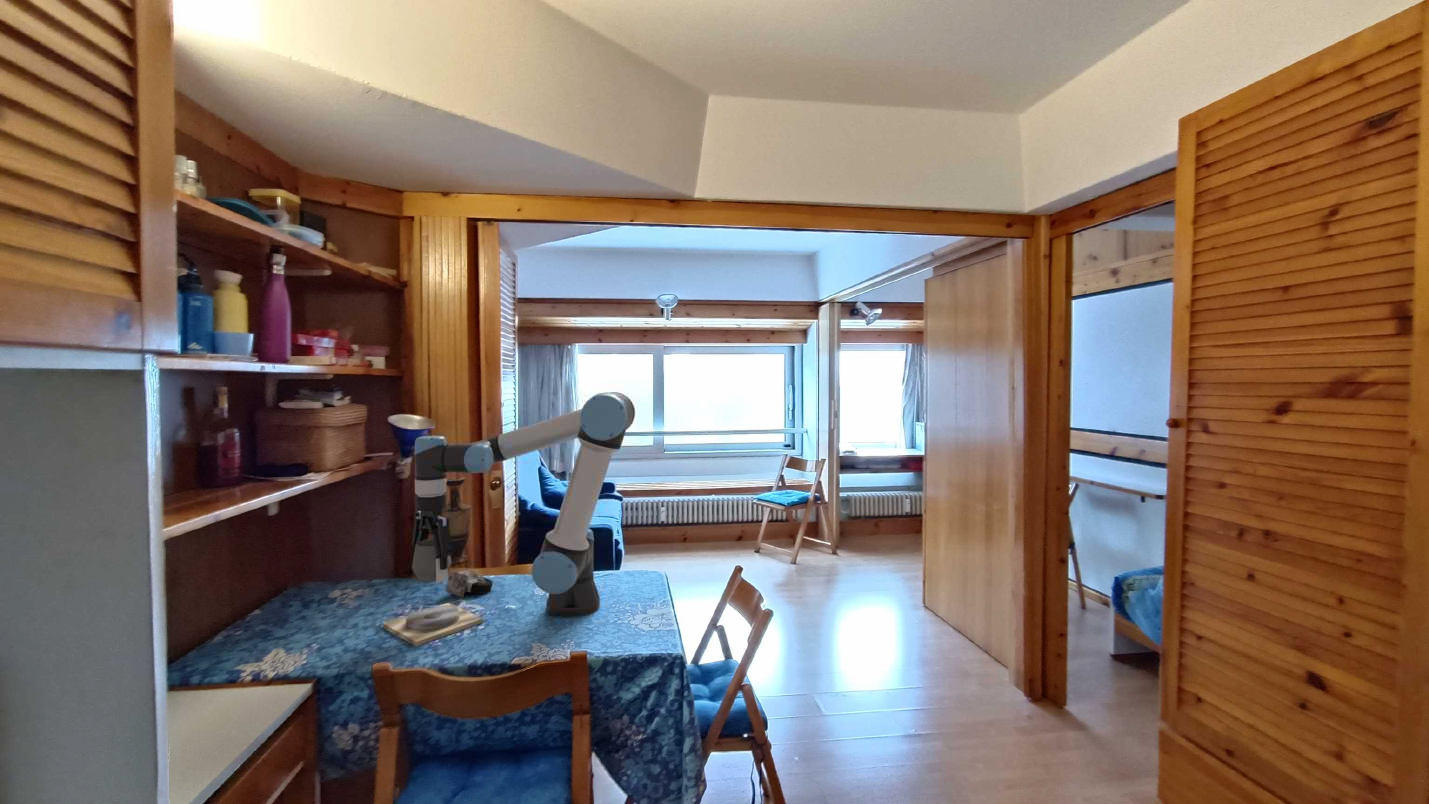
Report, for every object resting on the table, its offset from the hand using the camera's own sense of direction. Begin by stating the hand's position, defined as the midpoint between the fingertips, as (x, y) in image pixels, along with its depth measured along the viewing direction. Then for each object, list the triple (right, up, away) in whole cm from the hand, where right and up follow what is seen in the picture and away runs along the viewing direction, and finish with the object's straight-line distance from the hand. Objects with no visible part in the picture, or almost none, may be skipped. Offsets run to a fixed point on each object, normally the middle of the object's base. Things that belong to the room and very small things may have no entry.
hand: (432, 577), depth 159 cm
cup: (0, -1, 0) cm, 1 cm away
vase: (-18, -11, +56) cm, 60 cm away
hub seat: (0, -13, +1) cm, 13 cm away
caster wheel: (0, -12, +25) cm, 28 cm away
